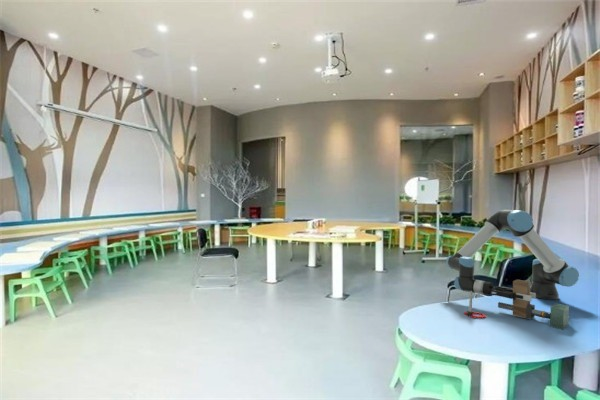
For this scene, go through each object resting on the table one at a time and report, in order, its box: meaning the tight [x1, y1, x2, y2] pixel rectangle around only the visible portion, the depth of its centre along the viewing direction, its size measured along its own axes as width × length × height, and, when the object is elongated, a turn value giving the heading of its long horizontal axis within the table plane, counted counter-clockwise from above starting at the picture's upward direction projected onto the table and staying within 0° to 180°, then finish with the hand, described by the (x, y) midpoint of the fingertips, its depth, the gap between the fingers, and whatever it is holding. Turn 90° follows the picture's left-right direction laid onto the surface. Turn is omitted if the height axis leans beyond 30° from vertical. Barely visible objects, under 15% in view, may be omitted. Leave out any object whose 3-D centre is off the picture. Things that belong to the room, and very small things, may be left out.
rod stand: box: [497, 301, 570, 330], centre depth 173 cm, size 10×29×9 cm, turn 41°
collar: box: [525, 303, 536, 320], centre depth 173 cm, size 6×2×6 cm, turn 131°
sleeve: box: [512, 279, 531, 319], centre depth 176 cm, size 6×6×18 cm
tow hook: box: [463, 291, 487, 320], centre depth 177 cm, size 8×13×9 cm
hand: (533, 297), depth 172 cm, fingers closed on sleeve, 6 cm apart
